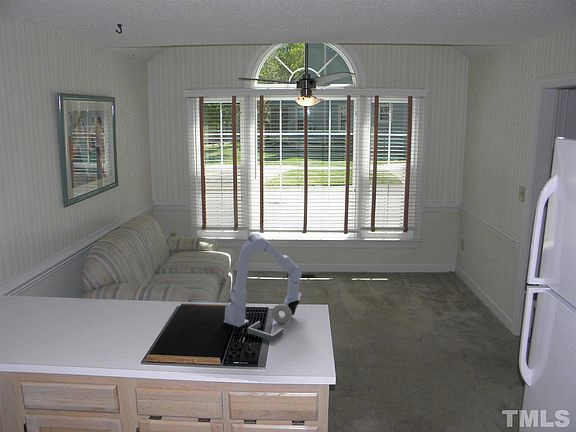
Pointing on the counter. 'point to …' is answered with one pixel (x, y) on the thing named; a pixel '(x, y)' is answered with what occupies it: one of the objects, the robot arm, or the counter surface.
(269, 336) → the bracket
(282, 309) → the donut
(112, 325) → the counter surface
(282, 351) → the counter surface
